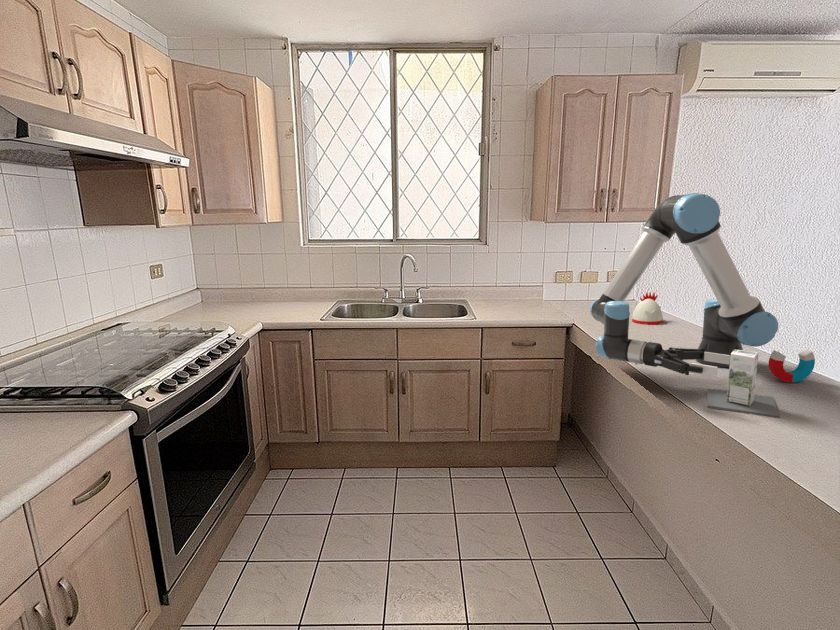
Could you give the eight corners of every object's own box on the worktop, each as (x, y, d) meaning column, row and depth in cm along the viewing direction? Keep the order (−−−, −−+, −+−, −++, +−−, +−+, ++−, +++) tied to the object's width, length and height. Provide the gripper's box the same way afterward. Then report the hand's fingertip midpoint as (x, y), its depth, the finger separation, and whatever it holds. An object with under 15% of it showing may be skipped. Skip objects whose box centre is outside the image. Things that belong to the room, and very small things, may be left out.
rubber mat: (707, 390, 140) (707, 388, 139) (772, 398, 131) (772, 396, 131) (707, 407, 128) (707, 405, 128) (779, 417, 120) (779, 415, 119)
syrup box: (754, 400, 129) (759, 351, 126) (750, 407, 125) (755, 356, 122) (730, 395, 133) (734, 348, 130) (725, 402, 129) (730, 353, 126)
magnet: (806, 379, 144) (810, 349, 142) (812, 382, 141) (816, 351, 139) (766, 380, 145) (769, 350, 143) (772, 383, 142) (775, 352, 140)
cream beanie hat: (666, 324, 220) (668, 294, 217) (636, 325, 223) (637, 294, 220) (657, 318, 234) (658, 289, 230) (628, 318, 236) (629, 290, 233)
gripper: (659, 355, 155) (733, 367, 140) (629, 374, 138) (710, 390, 123) (660, 333, 153) (735, 343, 138) (630, 351, 137) (712, 364, 121)
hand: (723, 365), depth 131 cm, fingers open, 13 cm apart
